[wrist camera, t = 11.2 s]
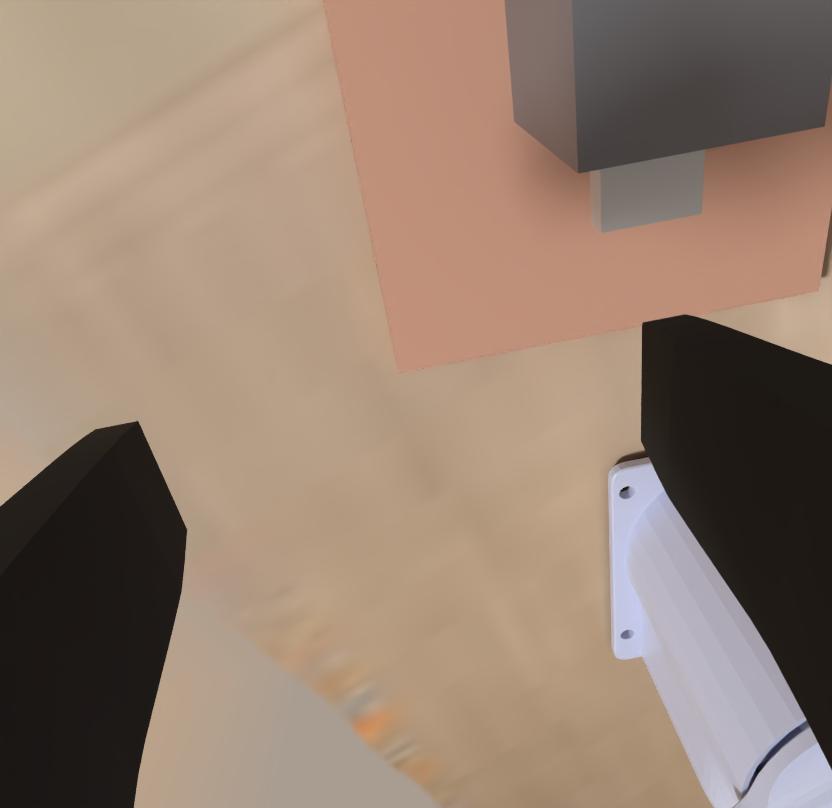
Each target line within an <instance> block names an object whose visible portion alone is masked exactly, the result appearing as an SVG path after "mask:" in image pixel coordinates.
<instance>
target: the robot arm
mask: <svg viewBox="0 0 832 808" xmlns="http://www.w3.org/2000/svg"><path fill="white" fill-rule="evenodd" d="M641 442H642V444H643V446H644V448H645V450H646V452H647V455H648V457H647V458H642V459H637V460H631V461H626V462H622V463H619V464H617V465H616V466H614V467H613V468H612V469H611V471H610V472H609V475H608V496H609V544H610V592H611V640H612V649H613V652H614V654H615V656H616V657H617V658H619V659H623V660H624V659H631V658H636V657H643V660H644V662H645V664H646V666H647V668H648V670H649V673H650V675H651V677H652V679H653V681H654V684H655V686H656V688H657V690H658V692H659V694H660V697H661V699H662V701H663V703H664V705H665V708H666V710H667V712H668V714H669V716H670V719H671V721H672V723H673V725H674V727H675V729H676V732H677V734H678V736H679V738H680V740H681V743H682V745H683V747H684V749H685V751H686V753H687V756H688V758H689V760H690V762H691V764H692V767H693V769H694V771H695V773H696V775H697V777H698V780H699V782H700V784H701V786H702V788H703V790H704V792H705V794H706V795H707V797H708V799H709V801H710V802H711V804H712V805H713V807H714V808H832V365H831V364H828V363H825V362H822V361H819V360H817V359H814V358H811V357H808V356H805V355H802V354H800V353H797V352H794V351H791V350H789V349H786V348H783V347H780V346H778V345H775V344H772V343H770V342H767V341H764V340H761V339H759V338H756V337H753V336H751V335H748V334H745V333H742V332H740V331H737V330H734V329H732V328H729V327H726V326H723V325H720V324H717V323H714V322H711V321H708V320H705V319H702V318H698V317H695V316H690V315H686V314H684V315H678V316H673V317H668V318H663V319H658V320H653V321H648V322H643V323H642V395H641ZM627 486H630V487H629V488H628V489H627V490H625V491H620V490H621V489H622V488H624V487H627ZM186 536H187V529H186V526H185V524H184V522H183V520H182V517H181V515H180V513H179V511H178V509H177V506H176V504H175V502H174V500H173V497H172V495H171V493H170V491H169V489H168V486H167V484H166V482H165V480H164V477H163V475H162V473H161V471H160V469H159V466H158V464H157V462H156V460H155V457H154V455H153V453H152V451H151V449H150V446H149V444H148V442H147V440H146V437H145V435H144V433H143V431H142V429H141V426H140V424H139V422H138V421H136V422H131V423H126V424H121V425H116V426H111V427H106V428H101V429H96V430H94V431H93V432H91V433H89V434H88V435H86V436H85V437H84V438H82V439H81V440H79V441H78V442H77V443H75V444H74V445H73V446H72V447H70V448H69V449H68V450H67V451H65V452H64V453H63V454H62V455H61V456H59V457H58V458H57V459H56V460H55V461H53V462H52V463H51V464H50V465H49V466H47V467H46V468H45V469H44V470H43V471H42V472H40V473H39V474H38V475H37V476H36V477H34V478H33V479H32V480H31V481H30V482H29V483H27V484H26V485H25V486H24V487H23V488H22V489H20V490H19V491H18V492H17V493H16V494H15V495H13V496H12V497H11V498H10V499H9V500H7V501H6V502H5V503H4V504H3V505H2V506H0V808H134V801H135V794H136V787H137V780H138V773H139V768H140V763H141V758H142V753H143V749H144V744H145V739H146V735H147V731H148V727H149V723H150V719H151V715H152V710H153V707H154V703H155V698H156V695H157V691H158V686H159V683H160V678H161V674H162V671H163V666H164V662H165V659H166V654H167V650H168V646H169V642H170V638H171V634H172V630H173V626H174V621H175V617H176V613H177V609H178V604H179V600H180V595H181V591H182V581H183V572H184V563H185V550H186Z"/></svg>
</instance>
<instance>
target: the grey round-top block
mask: <svg viewBox="0 0 832 808" xmlns="http://www.w3.org/2000/svg"><path fill="white" fill-rule="evenodd" d="M504 1H505V14H506V26H507V39H508V51H509V63H510V76H511V88H512V101H513V113H514V122H515V123H516V124H518V125H519V126H520V127H521V128H523V129H524V130H525V131H526V132H527V133H529V134H530V135H531V136H532V137H534V138H535V139H536V140H537V141H539V142H540V143H541V144H542V145H543V146H545V147H546V148H547V149H548V150H550V151H551V152H552V153H553V154H555V155H556V156H557V157H558V158H559V159H561V160H562V161H563V162H564V163H566V164H567V165H568V166H569V167H571V168H572V169H573V170H574V171H575V172H577V173H578V174H579V173H584V172H590V192H591V223H592V224H593V225H594V226H595V227H596V228H597V229H598V230H599V231H600V232H601V233H605V232H610V231H615V230H621V229H626V228H631V227H636V226H641V225H647V224H652V223H657V222H662V221H667V220H673V219H678V218H683V217H688V216H693V215H699V214H702V198H703V181H704V164H705V149H710V148H715V147H720V146H725V145H731V144H736V143H741V142H746V141H752V140H757V139H762V138H767V137H772V136H778V135H783V134H788V133H793V132H799V131H804V130H809V129H814V128H820V127H825V121H826V114H827V107H828V100H829V93H830V86H831V79H832V0H504Z"/></svg>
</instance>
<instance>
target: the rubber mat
mask: <svg viewBox="0 0 832 808" xmlns="http://www.w3.org/2000/svg"><path fill="white" fill-rule="evenodd" d="M323 1H324V6H325V11H326V16H327V21H328V26H329V31H330V36H331V41H332V46H333V51H334V56H335V61H336V66H337V71H338V75H339V80H340V85H341V90H342V95H343V100H344V105H345V110H346V115H347V120H348V125H349V130H350V135H351V140H352V145H353V149H354V154H355V159H356V164H357V169H358V174H359V179H360V184H361V189H362V194H363V199H364V204H365V209H366V214H367V219H368V224H369V228H370V233H371V238H372V243H373V248H374V253H375V258H376V263H377V268H378V273H379V278H380V283H381V288H382V293H383V298H384V303H385V307H386V312H387V317H388V322H389V327H390V332H391V337H392V342H393V347H394V352H395V357H396V362H397V367H398V372H399V373H403V372H408V371H413V370H418V369H423V368H428V367H433V366H438V365H444V364H449V363H454V362H459V361H464V360H469V359H474V358H479V357H484V356H490V355H495V354H500V353H505V352H510V351H515V350H520V349H525V348H530V347H536V346H541V345H546V344H551V343H556V342H561V341H566V340H571V339H577V338H582V337H587V336H592V335H597V334H602V333H607V332H612V331H617V330H623V329H628V328H633V327H638V326H642V323H643V322H648V321H653V320H658V319H663V318H668V317H673V316H678V315H684V314H686V315H690V316H694V315H699V314H704V313H709V312H715V311H720V310H725V309H730V308H735V307H740V306H745V305H750V304H756V303H761V302H766V301H771V300H776V299H781V298H786V297H791V296H796V295H802V294H807V293H812V292H817V291H819V287H820V280H821V274H822V268H823V261H824V255H825V248H826V242H827V235H828V229H829V222H830V216H831V209H832V79H831V86H830V93H829V100H828V107H827V114H826V121H825V127H820V128H814V129H809V130H804V131H799V132H793V133H788V134H783V135H778V136H772V137H767V138H762V139H757V140H752V141H746V142H741V143H736V144H731V145H725V146H720V147H715V148H710V149H705V164H704V181H703V198H702V214H699V215H693V216H688V217H683V218H678V219H673V220H667V221H662V222H657V223H652V224H647V225H641V226H636V227H631V228H626V229H621V230H615V231H610V232H605V233H601V232H600V231H599V230H598V229H597V228H596V227H595V226H594V225H593V224H592V223H591V192H590V172H584V173H579V174H578V173H577V172H575V171H574V170H573V169H572V168H571V167H569V166H568V165H567V164H566V163H564V162H563V161H562V160H561V159H559V158H558V157H557V156H556V155H555V154H553V153H552V152H551V151H550V150H548V149H547V148H546V147H545V146H543V145H542V144H541V143H540V142H539V141H537V140H536V139H535V138H534V137H532V136H531V135H530V134H529V133H527V132H526V131H525V130H524V129H523V128H521V127H520V126H519V125H518V124H516V123H515V122H514V113H513V101H512V88H511V76H510V63H509V51H508V39H507V26H506V14H505V1H504V0H323Z"/></svg>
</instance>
